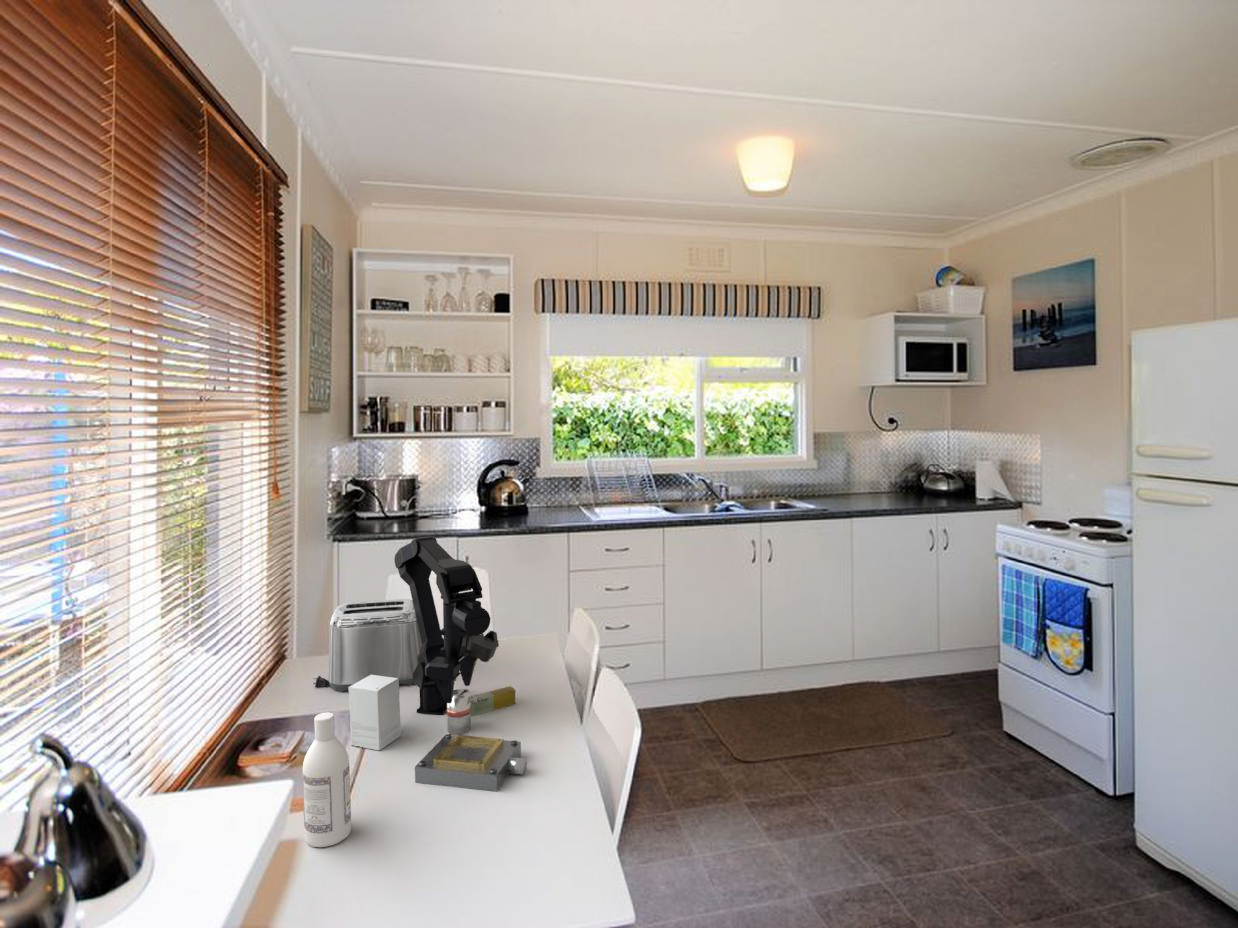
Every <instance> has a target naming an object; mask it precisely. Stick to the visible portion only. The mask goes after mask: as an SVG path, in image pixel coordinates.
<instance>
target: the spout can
mask: <svg viewBox="0 0 1238 928" xmlns="http://www.w3.org/2000/svg"><path fill="white" fill-rule="evenodd" d="M472 696H473V695H471V691H470V690H469V689H465V688H461V689H460V688H458V689H453V698H452V703H447V711H446V720H447V723H446V724H447V727H446V731H447V734H451V735H455V736H456V735H465V734H468V733H469V732H470V731H472V716H471V702H473V703H477V702H478V697H472Z"/></svg>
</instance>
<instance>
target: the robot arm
mask: <svg viewBox="0 0 1238 928" xmlns="http://www.w3.org/2000/svg"><path fill="white" fill-rule="evenodd" d="M394 566H395V568H396V569H397V570H398V574H399V577H400V579H402V580H403V582H405V583H406V584H407V585H408V587H409V591H410V596H411V600H412V601H413V605H414V610H415V614H416V619H417V624H418V628H419V633H420V637H421V642H422V646H421V649H420V652H419V655H418V665H417V667H416V669H415V671H414V673H413V681H414V684H413V685H415V686H416V687H418V688H419V707H418V708H417V709H416V713H419V714H420V713H421V714H430V715H431V714H432V715H444V714H445V713H447V703H452V698H453V690H455V689H454V688H455V682H456V681H457V678H458V677H459V676H461V679H462V682H463V685H464V686H466V687H469V686H471V682H472V678H473V674H474V671H475V667H476V663H477V660H480V662H483V663H488V662H489V661H490V660H491V659H492V658H494V656H495V653H496V650H497V648H498V647H499V646H500V644H499V640H498V633H497V632H496V631H494V630H489V631H488V632H487V633H486V634H484V633H485V632H486V631H487V630H488V629H489V626H490V624H491V616H490V613H489V612H488V611H487V609H485V608H483V607H482V602H481V601H480V600H478V599H483V597H484V596H483V594H482V591H483V588H482V585H481V583H480V580H479V578H478V575H477V573H476V570H475V569H474V567H473V566H472V565H471V564H470V563H469V562H466V561H464V560H460V559H455V558H453V557H452V556H451V555H450V554H449V553H448V552H447V551H446V550H445V549H444V548H443V547H442V546H441V545H440V544H439V543H438V541H437V538H436V537H435V536H431V535H430V536H421V537H416V538H412V540H411V541H410V542H409V543H407V544H406V545H404V546H402V547H400V548H399V549H398V550H397V552H396V553H395V554H394ZM432 573H434V574H435V576H436V579H435V584H436V586H437V590H438V591H439V593H440V599H441V600H442V611H443V612H442V614H443V615H442V618H443V619H442V620H443V621H442V622H443V623H442V624H443V628H441V626H440V622H439V618H438V617H439V616H438V612H437V608H436V605H435V599H434V595H433V591H432V587H431V581H430V577H431V574H432Z"/></svg>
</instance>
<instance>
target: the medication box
mask: <svg viewBox="0 0 1238 928" xmlns="http://www.w3.org/2000/svg"><path fill="white" fill-rule="evenodd" d="M471 696H472V697H478V702H477V703H473V702H471V717H474V716H478V715H481V714H484V713H489V712H492V711H496V710H500V709H503V708H506V707H510V706H515V705H516V704H517V703H516V689H515V688H514V687H513V686H511V685H510V686H505V687H502V688H498V689H493V690H490V691H485V692H482V693H479V694H474V695H471Z"/></svg>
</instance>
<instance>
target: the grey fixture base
mask: <svg viewBox="0 0 1238 928" xmlns="http://www.w3.org/2000/svg"><path fill="white" fill-rule="evenodd" d="M521 742H522V741H518V740H508V739H507V740H506V739H504V738H496V737H495V738H494V737H487V736H486V737H485V736H474V735H465V734H463V735H451V734H449V733H447V734H445V735H444V736H443V737H442V738H441V739H440V740H439V741H438V742H437V743H436V744H435V745H434V746H433V748H432V749H430V751H429V752H428V753H427V754H425V755H424V757H423V758H422V759H421V760H420V761H419V762H418V763H417V764H416V765H415V766H414V783H417V784H425V785H426V784H427V785H435V786H443V787H444V786H445V787H453V788H462V789H463V788H464V789H471V790H477V791H479V790H480V791H488V792H489V791H490V792H498V790H499V789H500V788H501V786H503V783H505V780H507V778H508V776H509V774H513V775H514V774H515V775H523V776H524V775H525V774H526V770H527V766H528V761H527V758H525V757H524V758H523V757H522V743H521Z"/></svg>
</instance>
